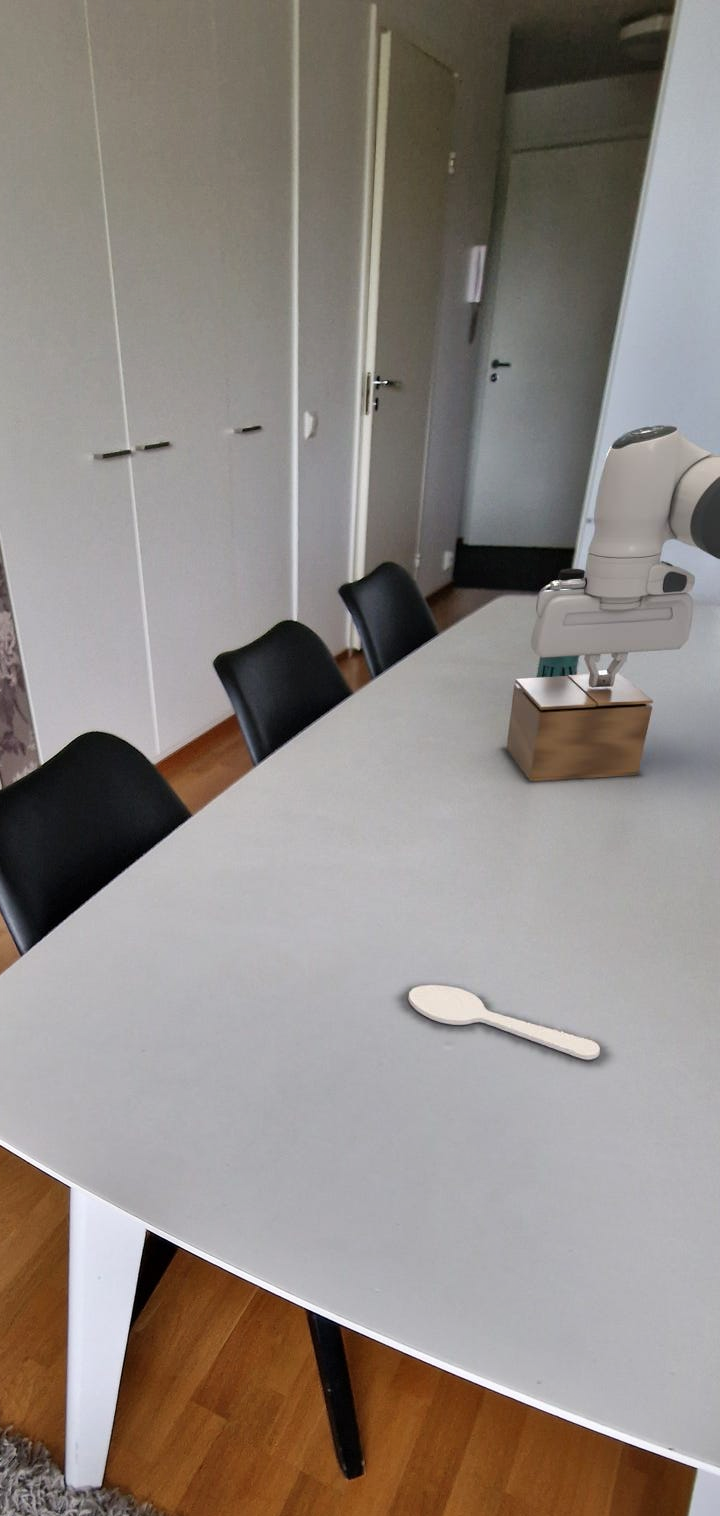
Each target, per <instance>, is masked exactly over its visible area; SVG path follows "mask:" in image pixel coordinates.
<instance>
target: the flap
mask: <svg viewBox="0 0 720 1516" xmlns="http://www.w3.org/2000/svg"><path fill="white" fill-rule="evenodd" d="M589 676H590V673H586V674H585V673H584V674H577V675H568V678H569V679H570V680H571V681H572V682H573V683H575V684H576V685H577V686H578V687H579V688H580V689H581V690H582V691H583V692H584V693H585V694H586V695H588V696H589V697H590V698H591V699H592V700H593V701H594V702H595V703H596V705H597V706H605V705H627V704H650V705H651V704H653V703H654V700H653V699H652V698H651V697H649V696H648V695H647V694H646V693H644V692H643V691H642V690H641V689H640V688H638V687H637V686H636V685H634V684H633V683H632V682H631V681H630V680H628V679H627V678H626V677H624V676H623V675H622V674H621V673H619V672H617V674H616V675H615V680H614V685H613V686H609V687H590V686H589Z"/></svg>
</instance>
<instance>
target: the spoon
mask: <svg viewBox="0 0 720 1516" xmlns="http://www.w3.org/2000/svg"><path fill="white" fill-rule="evenodd" d="M408 1002H409V1004H410V1005H411V1006H412V1008H413V1009H414V1010H416V1012H418V1013H419V1014H421V1015H422V1016H425V1017H427V1018H429V1019H430V1020H433V1021H435V1022H438V1023H442V1024H446V1025H453V1026H454V1025H455V1026H461V1025H470V1024H474V1023H483V1024H486V1025H488V1026H492V1027H495V1028H497V1029H500V1030H501V1031H505V1032H508V1033H510V1034H513V1035H515V1036H518V1037H520V1038H524V1039H526V1040H530V1041H532V1042H534V1043H538V1044H540V1045H543V1046H546V1047H548V1048H551V1049H553V1050H556V1051H559V1052H562V1053H566V1054H567V1055H571V1056H572V1057H575V1058H579V1059H582V1060H589V1061H590V1060H594V1059H597V1058H598V1057H599V1056H600V1054H601V1053H600V1052H601V1047H600V1045H599V1044H598V1043H597V1042H595V1041H594V1040H591V1039H589V1038H584V1037H582V1036H581V1037H580V1036H576V1035H574V1034H572V1033H567V1032H564V1031H563V1030H560V1031H559V1030H557V1029H555V1028H553V1029H552V1028H548V1027H546V1026H542V1025H541V1024H539V1025H537V1024H535V1023H534V1024H533V1023H531V1022H530V1021H528V1022H526V1021H525V1020H521V1019H517V1018H515V1017H510V1016H508V1015H507V1016H506V1015H503V1014H501V1013H496V1012H493V1011H490V1010H489V1009H488V1008H486V1007H485V1004H484V1003H483V1002H482V999H480V998H479V997H478V996H477V995H475V994H474V993H472V992H470V991H468V990H466V989H462V988H460V987H454V986H448V985H444V984H443V985H442V984H441V985H439V984H426V985H423V984H422V985H417V986H415V987H413V988H412V989H410V991H409V992H408Z"/></svg>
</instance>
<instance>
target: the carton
mask: <svg viewBox="0 0 720 1516" xmlns="http://www.w3.org/2000/svg"><path fill="white" fill-rule="evenodd" d="M514 680H515V683H516V684H514V685H513V691H512V692H513V693H512V699H511V700H512V701H511V709H510V715H509V725H508V730H507V731H508V732H507V739H506V740H507V741H506V748H505V749H506V750H507V752H508V753H509V754H510V756H511V757H512V759H513V760H514V761H515V763H516V764H517V765H518V767H519V768H520V769H521V771H522V772H523V773H524V775H525V776H526V777H527V779H528V780H529V782H545V781H560V780H561V781H562V780H578V779H595V778H596V779H597V778H613V777H628V776H629V777H631V776H638V775H639V770H640V767H641V761H642V757H643V752H644V747H645V743H646V740H647V739H646V738H647V735H648V729H649V724H650V720H651V715H652V711H653V705H651V703H650V704H627V705H605V706H597V705H596V703H595V702H594V701H593V700H592V699H591V698H590V697H589V696H588V695H586V694H585V693H584V692H583V691H582V690H581V689H580V688H579V687H578V686H577V685H576V684H575V683H573V682H572V681H571V680H570V679H569V678H568V677H567V676H557V677H541V678H537V677H526V678H525V677H523V678H515V679H514Z"/></svg>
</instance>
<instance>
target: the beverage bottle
mask: <svg viewBox="0 0 720 1516" xmlns="http://www.w3.org/2000/svg"><path fill="white" fill-rule="evenodd" d="M584 574H585V569H581V568H564V569H561V570H560V571H559V572H558V578H557V580H561V581H568V580H574V579H584ZM580 657H581V655H578V656H562V657H546V658H542V657H540V656H538V658H539V659H538V661H537V662H538V664H537V665H538V666H537V673H536V675H535V678H541V677H557V676H567V677H568V675H578V671H579V669H578V666H579V663H580V662H579V661H580Z"/></svg>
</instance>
